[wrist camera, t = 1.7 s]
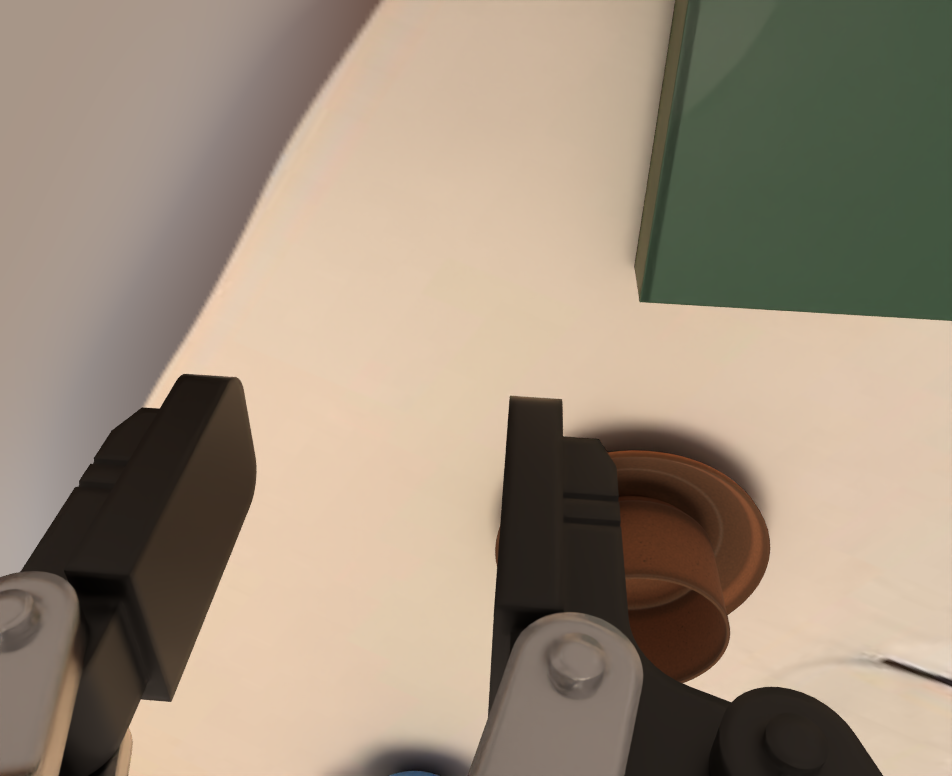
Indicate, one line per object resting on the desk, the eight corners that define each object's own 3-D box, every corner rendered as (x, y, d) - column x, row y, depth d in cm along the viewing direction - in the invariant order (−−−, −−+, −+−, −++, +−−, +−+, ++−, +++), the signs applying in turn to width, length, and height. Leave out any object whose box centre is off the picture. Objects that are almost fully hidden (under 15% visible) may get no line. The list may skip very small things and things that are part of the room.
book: (711, -237, 23) (726, -235, 21) (1144, -224, 22) (1201, -220, 20) (634, 267, 32) (639, 302, 30) (939, 285, 31) (965, 322, 29)
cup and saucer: (445, 502, 40) (429, 609, 35) (673, 381, 35) (693, 487, 30) (591, 639, 45) (595, 749, 40) (808, 551, 40) (843, 665, 35)
